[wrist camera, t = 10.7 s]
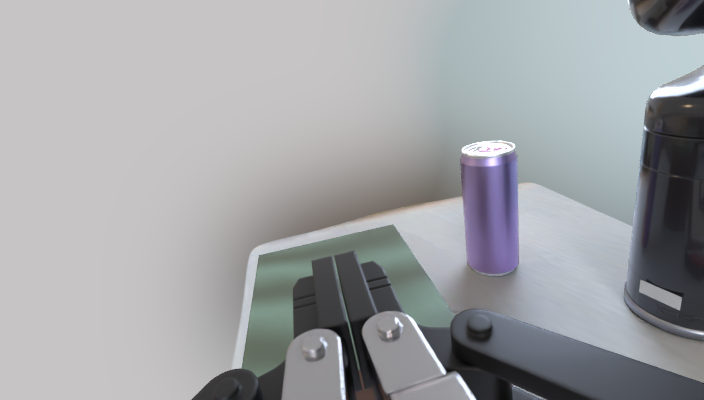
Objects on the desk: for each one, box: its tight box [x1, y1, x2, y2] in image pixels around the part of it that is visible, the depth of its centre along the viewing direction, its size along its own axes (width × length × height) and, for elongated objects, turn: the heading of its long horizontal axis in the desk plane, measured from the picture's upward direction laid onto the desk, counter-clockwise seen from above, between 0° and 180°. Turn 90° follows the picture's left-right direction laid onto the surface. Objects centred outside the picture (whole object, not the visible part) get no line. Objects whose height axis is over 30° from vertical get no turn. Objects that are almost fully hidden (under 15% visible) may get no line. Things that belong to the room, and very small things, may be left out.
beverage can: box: [460, 141, 519, 276], centre depth 44 cm, size 6×6×15 cm
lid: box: [242, 225, 455, 377], centre depth 29 cm, size 16×14×1 cm
